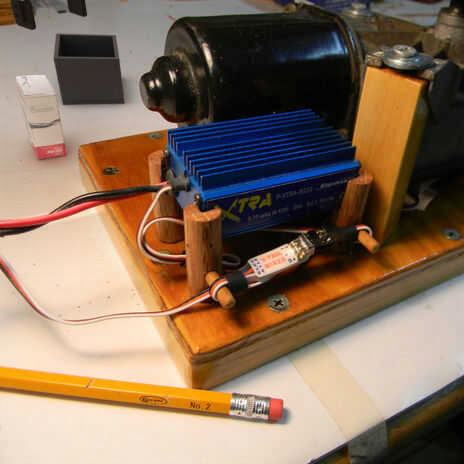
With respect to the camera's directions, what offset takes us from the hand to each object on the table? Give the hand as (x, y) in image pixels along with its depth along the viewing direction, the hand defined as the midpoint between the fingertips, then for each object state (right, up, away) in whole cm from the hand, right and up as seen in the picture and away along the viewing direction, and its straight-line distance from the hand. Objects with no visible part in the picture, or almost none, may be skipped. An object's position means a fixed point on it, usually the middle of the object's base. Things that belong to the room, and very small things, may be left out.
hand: (53, 20), depth 72 cm
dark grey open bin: (-9, -1, +34) cm, 35 cm away
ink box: (-9, -17, +14) cm, 24 cm away
